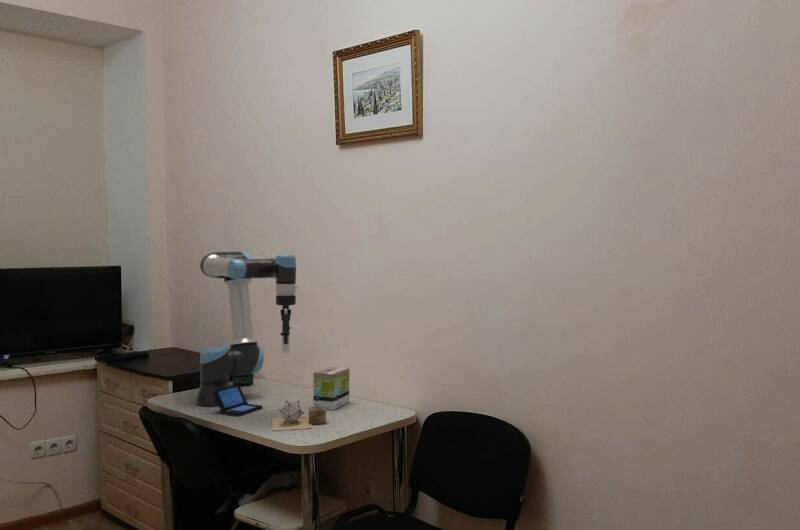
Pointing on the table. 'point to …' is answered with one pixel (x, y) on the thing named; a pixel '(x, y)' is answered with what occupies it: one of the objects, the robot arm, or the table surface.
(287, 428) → the envelope
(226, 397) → the handheld game console
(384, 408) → the table surface
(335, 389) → the tea box
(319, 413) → the walnut block
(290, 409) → the grey spiky ornament
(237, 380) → the storage jar
